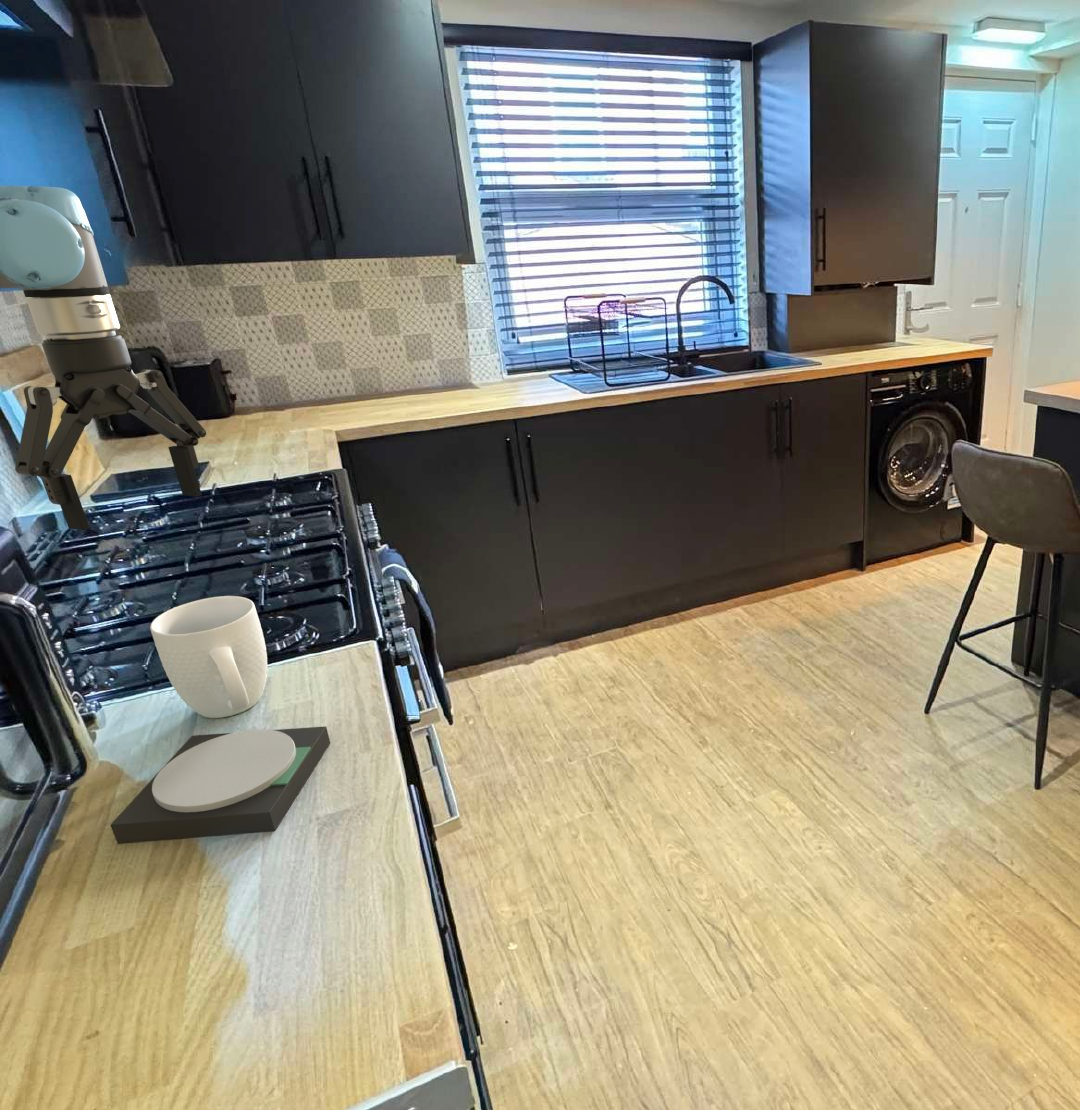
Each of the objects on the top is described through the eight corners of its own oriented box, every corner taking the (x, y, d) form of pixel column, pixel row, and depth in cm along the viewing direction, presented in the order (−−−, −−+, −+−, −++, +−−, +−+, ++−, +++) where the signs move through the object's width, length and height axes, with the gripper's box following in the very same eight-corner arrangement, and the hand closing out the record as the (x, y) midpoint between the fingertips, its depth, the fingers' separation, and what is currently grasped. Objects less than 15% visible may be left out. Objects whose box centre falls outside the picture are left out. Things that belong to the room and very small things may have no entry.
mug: (299, 716, 98) (274, 624, 93) (197, 754, 91) (165, 656, 86) (265, 673, 108) (242, 587, 103) (171, 704, 101) (141, 614, 96)
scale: (117, 843, 78) (107, 818, 76) (197, 752, 91) (190, 729, 90) (275, 831, 79) (267, 805, 78) (330, 743, 93) (324, 720, 92)
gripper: (-33, 349, 77) (43, 548, 85) (208, 325, 99) (251, 485, 107) (-75, 347, 80) (3, 540, 88) (169, 324, 101) (213, 481, 109)
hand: (139, 511), depth 97 cm, fingers open, 13 cm apart
